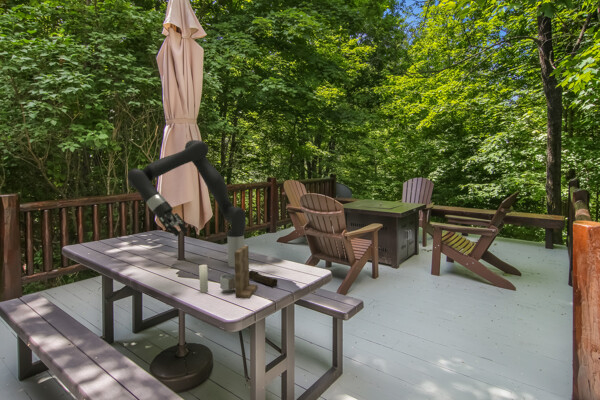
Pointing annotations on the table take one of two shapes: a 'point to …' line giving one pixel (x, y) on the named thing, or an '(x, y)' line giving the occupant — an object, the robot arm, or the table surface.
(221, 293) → the table surface
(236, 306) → the table surface
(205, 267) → the cream white cylinder
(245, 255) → the wooden bookend
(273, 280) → the hand tool
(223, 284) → the metal cup
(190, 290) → the table surface
